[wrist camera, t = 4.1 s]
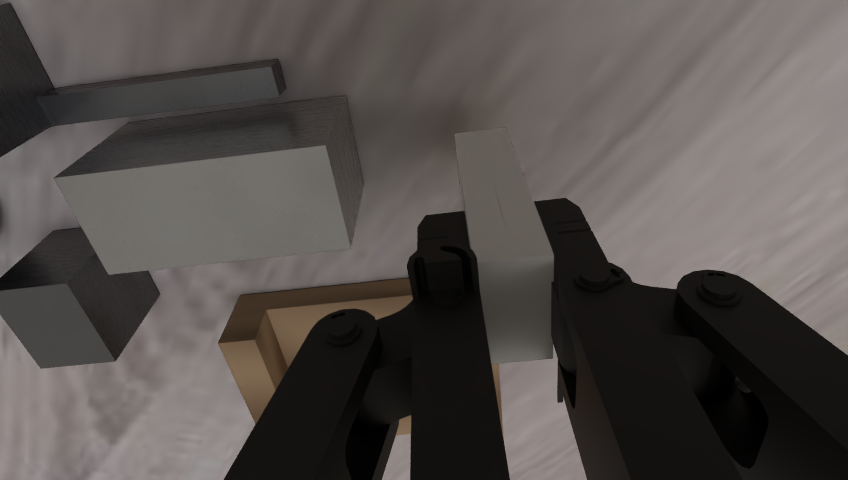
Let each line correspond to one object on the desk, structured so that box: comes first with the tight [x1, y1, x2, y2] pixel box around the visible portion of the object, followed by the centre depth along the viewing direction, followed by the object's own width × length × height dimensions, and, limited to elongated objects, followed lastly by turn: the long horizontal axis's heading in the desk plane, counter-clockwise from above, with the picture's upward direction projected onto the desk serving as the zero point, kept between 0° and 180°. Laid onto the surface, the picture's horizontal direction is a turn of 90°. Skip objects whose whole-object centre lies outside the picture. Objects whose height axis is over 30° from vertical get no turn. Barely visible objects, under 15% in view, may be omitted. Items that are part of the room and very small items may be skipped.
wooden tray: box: [218, 278, 503, 435], centre depth 24 cm, size 9×11×3 cm
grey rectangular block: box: [54, 95, 364, 275], centre depth 18 cm, size 4×8×4 cm, turn 97°
